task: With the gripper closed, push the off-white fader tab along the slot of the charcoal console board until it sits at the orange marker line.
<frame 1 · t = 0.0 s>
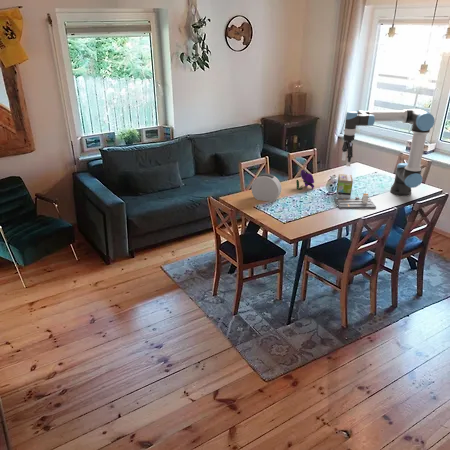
hand: (345, 163, 305), 28 cm above the table, fingers open, 13 cm apart
console: (354, 204, 308), on the table
alarm clock: (266, 199, 319), on the table
flower: (303, 189, 337), on the table
fader: (365, 198, 306), point 5 cm above the table, slide at -7.0 cm
tea box: (343, 195, 324), on the table
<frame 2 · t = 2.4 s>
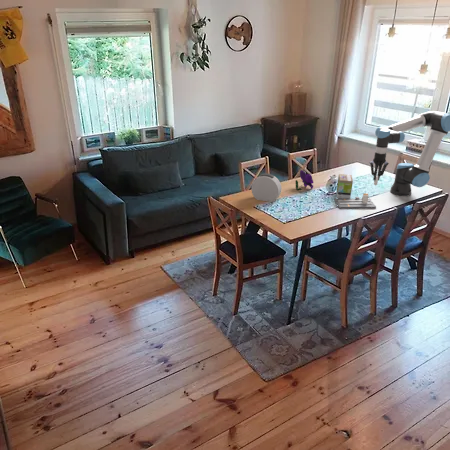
hand: (375, 184, 301), 15 cm above the table, fingers closed
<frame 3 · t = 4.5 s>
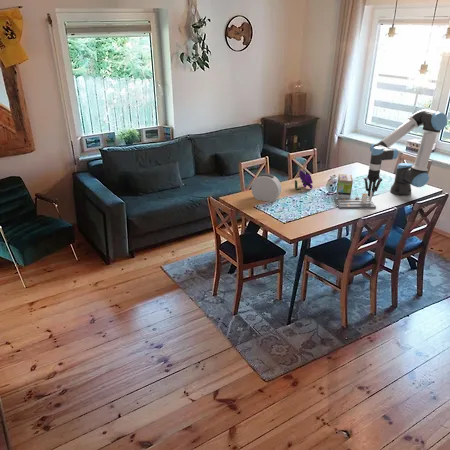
hand: (369, 200, 306), 4 cm above the table, fingers closed
fader: (364, 198, 306), point 5 cm above the table, slide at -6.4 cm, touching gripper
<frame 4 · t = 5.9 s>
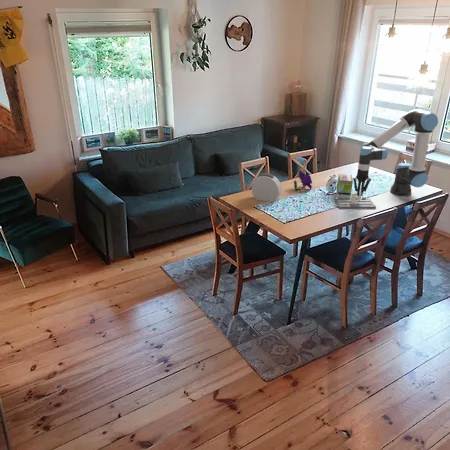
hand: (358, 200, 306), 4 cm above the table, fingers closed
fader: (353, 198, 306), point 5 cm above the table, slide at 1.4 cm, touching gripper
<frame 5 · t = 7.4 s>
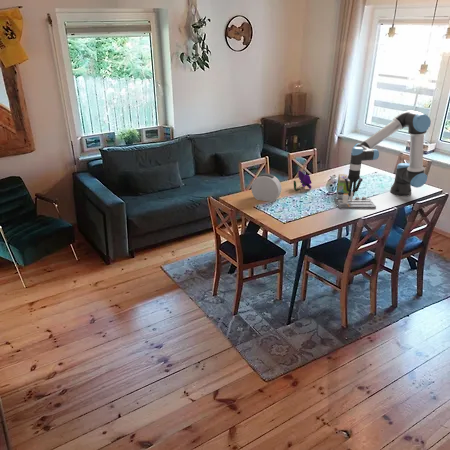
hand: (350, 200, 306), 4 cm above the table, fingers closed
fader: (345, 198, 306), point 5 cm above the table, slide at 7.5 cm, touching gripper
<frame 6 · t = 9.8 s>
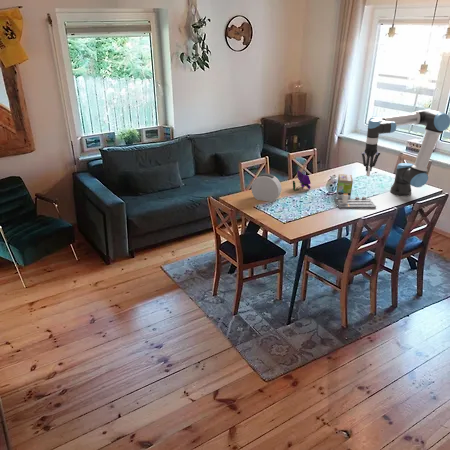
hand: (367, 175, 299), 22 cm above the table, fingers closed
fader: (345, 198, 306), point 5 cm above the table, slide at 7.6 cm
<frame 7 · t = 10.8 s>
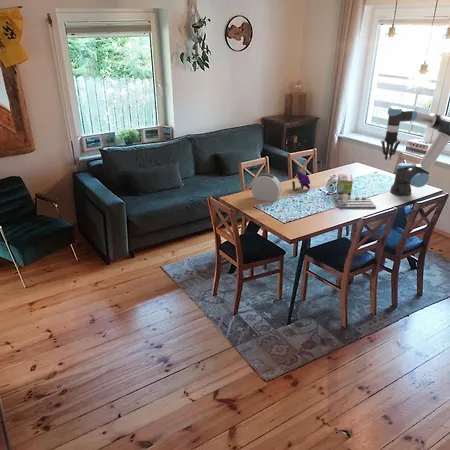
hand: (386, 164, 298), 29 cm above the table, fingers closed
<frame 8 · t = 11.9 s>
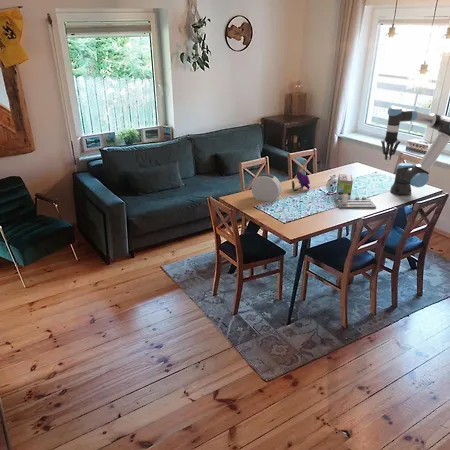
hand: (386, 164, 298), 29 cm above the table, fingers closed
at the end: fader slide at 7.6 cm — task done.
